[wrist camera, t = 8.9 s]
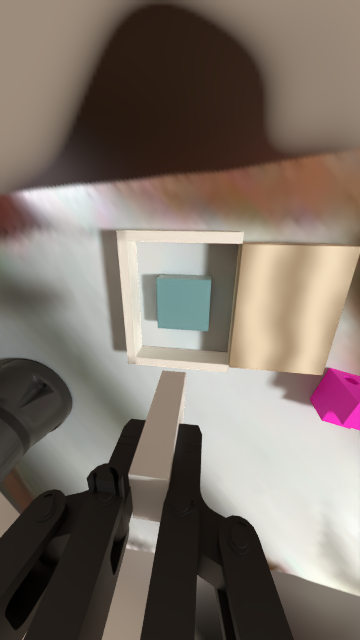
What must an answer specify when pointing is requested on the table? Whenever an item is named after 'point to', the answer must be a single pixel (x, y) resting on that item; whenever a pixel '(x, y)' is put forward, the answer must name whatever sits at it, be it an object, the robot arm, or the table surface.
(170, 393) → the robot arm
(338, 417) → the magenta notched bracket
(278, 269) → the plate
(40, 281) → the table surface
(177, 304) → the teal rectangular block
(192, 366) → the box
